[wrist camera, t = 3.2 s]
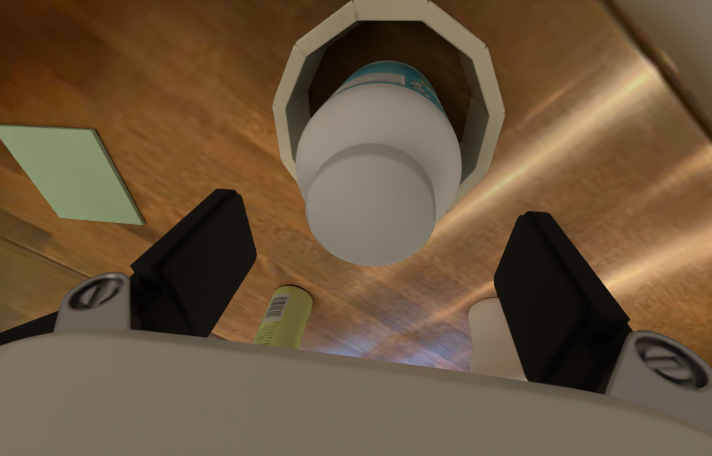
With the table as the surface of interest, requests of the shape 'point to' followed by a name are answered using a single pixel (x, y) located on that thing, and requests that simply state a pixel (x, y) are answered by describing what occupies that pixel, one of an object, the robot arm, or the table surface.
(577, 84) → the table surface
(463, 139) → the polygonal ring band
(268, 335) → the tube
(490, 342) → the cup
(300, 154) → the pill bottle
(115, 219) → the mat
